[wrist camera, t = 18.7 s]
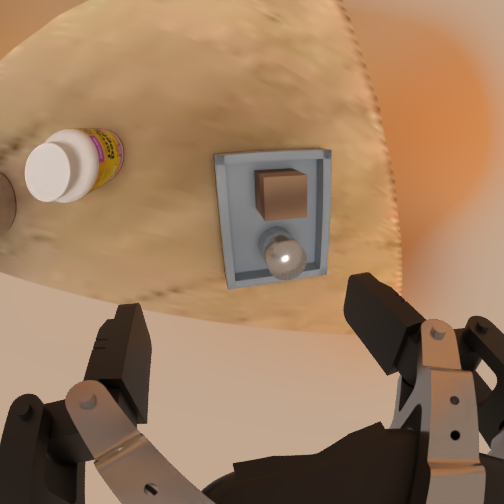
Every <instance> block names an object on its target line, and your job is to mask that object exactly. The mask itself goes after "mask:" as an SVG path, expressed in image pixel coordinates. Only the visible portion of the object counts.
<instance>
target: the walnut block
mask: <svg viewBox="0 0 504 504" xmlns="http://www.w3.org/2000/svg"><path fill="white" fill-rule="evenodd" d="M254 180H255V201H256V209H257V210H258V212H259V213H260V215H261V216H262V218H263V219H264V220H265V221H274V220H285V219H295V218H306V217H307V175H306V174H304V173H302V172H300V171H297V170H295V169H293V168H283V169H266V170H254Z"/></svg>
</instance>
